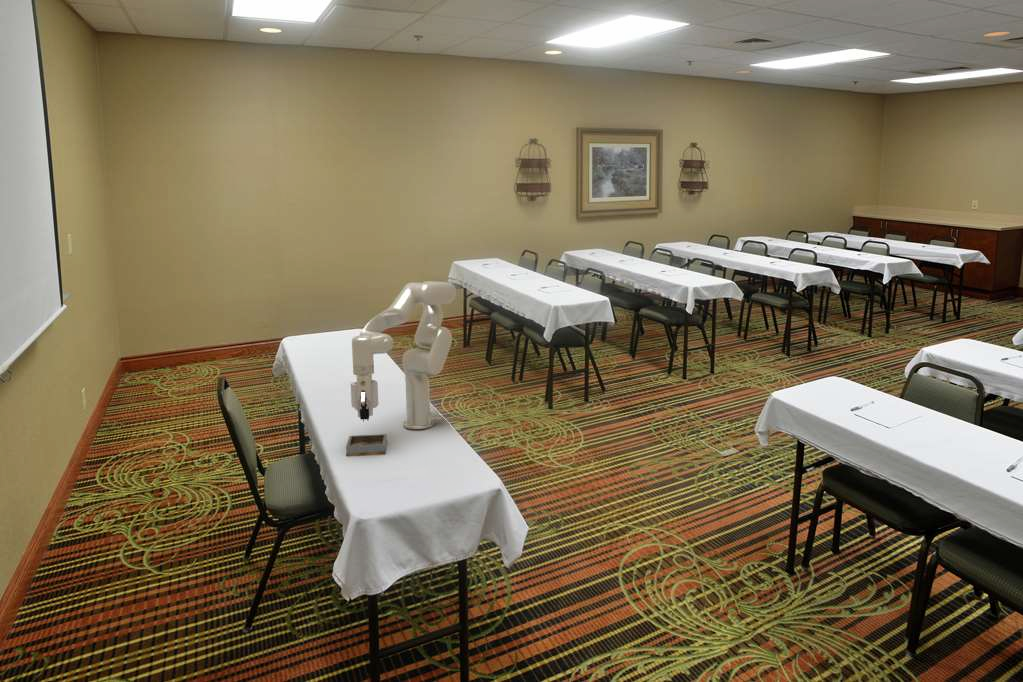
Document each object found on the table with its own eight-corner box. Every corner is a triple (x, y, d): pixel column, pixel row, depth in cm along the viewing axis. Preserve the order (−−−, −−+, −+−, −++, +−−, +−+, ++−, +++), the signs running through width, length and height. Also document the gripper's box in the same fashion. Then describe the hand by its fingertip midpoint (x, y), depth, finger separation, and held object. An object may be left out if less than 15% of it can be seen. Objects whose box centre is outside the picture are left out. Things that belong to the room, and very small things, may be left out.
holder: (387, 443, 255) (386, 434, 254) (385, 454, 243) (384, 444, 243) (350, 445, 253) (349, 435, 253) (346, 456, 242) (345, 446, 241)
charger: (379, 421, 246) (378, 382, 244) (355, 425, 242) (353, 385, 239) (375, 418, 250) (374, 379, 248) (351, 421, 246) (349, 382, 243)
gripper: (372, 374, 235) (374, 423, 238) (375, 364, 251) (377, 409, 255) (350, 375, 234) (352, 423, 237) (355, 364, 251) (357, 410, 254)
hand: (365, 415), depth 246 cm, fingers closed on charger, 6 cm apart
